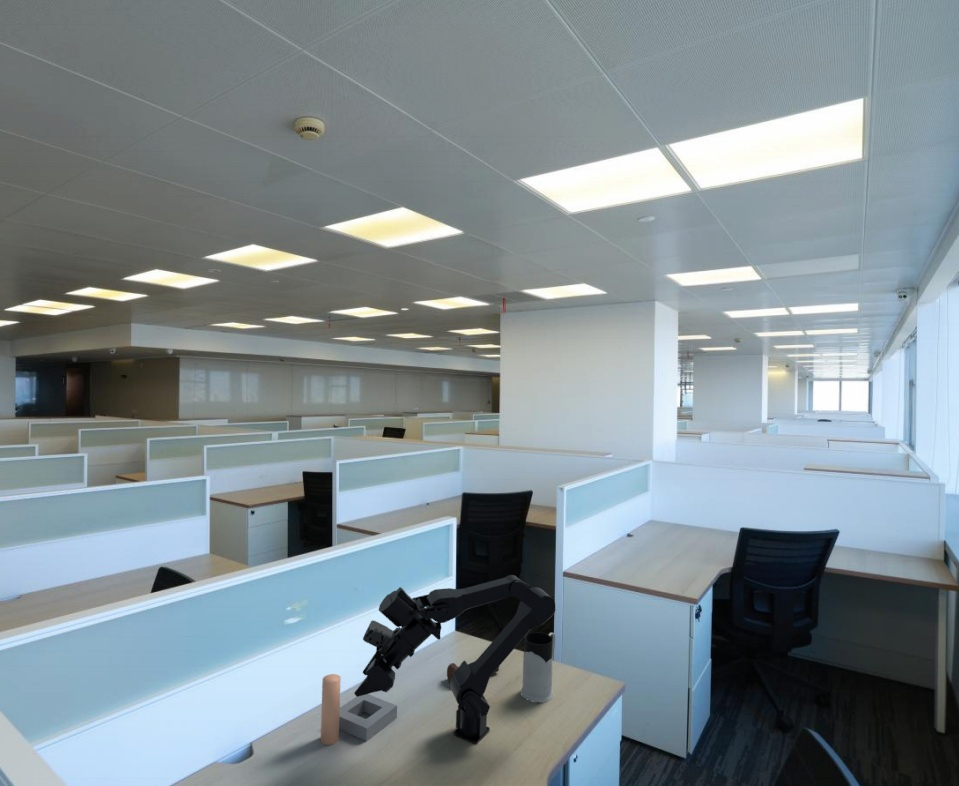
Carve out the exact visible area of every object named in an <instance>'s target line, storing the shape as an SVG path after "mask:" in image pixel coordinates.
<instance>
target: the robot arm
mask: <svg viewBox="0 0 959 786" xmlns="http://www.w3.org/2000/svg"><path fill="white" fill-rule="evenodd" d="M512 597H514V598H516V599H517V600H519V601H520V602H519V604H518V607H517V610H516V613H515V615H514V616H513V617H512V619H511V620H510V621H509V622H508V623H507V624H506V625H505V627H504V628H503V629H502V630H501V631H500V633H499V634H498V635H497V636H496V637H495V638H494V640H493V641H491V643H490V644H489V645H488V646H487V647H486V648H485V649H484V651H483V652H482V653H481V654H480V655H479V656H478V658H477V659H475V661H472V662H470V663H468V662H467V661H466V660H463V661H462V662H461V664H460V665H459V666H458V667H459V668H458V669H457V670H456V671H454V672H453V677H452V678H451V681H450V683H449V684H450V685H449V686H450V689H451V690H450V691H451V693H452V695H453V697H454V699H455V701H456V703H457V704H458V705H457V710H455V712H456V713H455V719H456V720H455V727H456V729H455V730H454V731H453V736H456V737H457V738H460V739H463V740H465V741H468V742H470V743H474V744H478V743H479V742H480V741H481V740H482V739H483V738H485V737H484V736H486V735H487V734H488V732H490V727H489V726H487V718H488V717H487V716H488V713H489V710H490V707H491V706H490V704H489V703H488V701H487V699H486V697H485V695H484V694H485V692H486V690H487V687H488V683H489V680H490V678H491V676H492V675H493V674H494V673H496V672H495V670H496V669H497V668H498V667H499V668H500V666H501V665H502V663H503V662H504V661H505V660H506V659H507V658H508V657H509V655H510V654H511V653H512V652H513V651H514V650H515V648H516V647H517V646H518V645H519V644H520V643H521V642H522V640H523V639H525V636H526V635H527V634H529V632H530V631H532V630H534V629H536V628H538V627H540V626H543V625H544V624H545V623H546V622H547V621H549V619H551V618H552V617H553V615H554V614H555V613H556V602H555V600H554V599H553V598H552V597H551V596H550V595H549V594H548V593H547V592H545V591H544V590H543V589H542V588H540V587H532V586H530V585H529V584H527V583H526V582H524V581H523V580H521V579H520V578H519V577H517V576H516V575H514V574H509V575H507V576H505V577H502V578H498V579H493V580H491V581H487V582H483V583H479V584H475V585H473V586H469V587H465V588H459V589H458V588H450V587H449V588H437V589H433V590H432V591H429V593H427V594H424V595H420V596H416V597H411V595H409V594H408V593H407V592H406V591H405V590H404V588H402V587H401V586H400V587H398V588H397V589H396V590H393V591H391V592H390V593H388V594H386V596H385V597H384V598H383V600H382V601H381V602H380V604H379V607H378V611H379V612H380V613H381V614H382V615H383V616H384V617H385V618H386V619H388V621H390V622H391V623H392V624H393V625H394V626H395V628H394V629H393V630H392V629H391V628H389V627H388V626H387V625H384V624H382V623H380V622H378V621H377V620H373V619H372V620H371V621H370V623H369V625H368V626H367V629H366V631H365V632H364V635H363V637H362V641H363V642H365V643H367V644H369V645H371V646H373V647H376V648H375V649H376V650H375V653H374V655H372V657H371V659H370V660H369V661H368V663H367V665H366V666H365V668H364V669H363V670H362V674H363V676H365V678H364V679H363V681H362V682H361V683H360V685H358V687H357V689H356V690H355V691H354V695H355V697H359V696H362V695H366V694H369V695H370V694H372V693H377V692H384V693H388V692H389V691H390V690H391V689H392V688H393V687H394V684H395V680H396V672H395V670H393V669H392V668H393V667H394V668H395V669H396V670H399V669H400V668H401V667H402V663H403V662H404V661H405V660H406V659H407V658H408V657H410V658H411V657H412V656H414V654H415V651H416V650H417V649H418V648H419V647H420V646H421V645H422V644H423V643H424V642H425V641H426V640H427V639H429V638H430V636H432V635H433V637H435V639H437V640H440V639H441V632H442V624H443V623H447V622H449V621H451V620H454V619H456V618H458V617H459V616H460V615H461V614H463V613H464V612H465V611H467V610H469V609H473V608H476V607H480V606H483V605H486V604H490V603H494V602H497V601H501V600H504V599H509V598H512Z"/></svg>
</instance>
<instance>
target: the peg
mask: <svg viewBox="0 0 959 786" xmlns="http://www.w3.org/2000/svg"><path fill="white" fill-rule="evenodd" d="M341 679H342V678H341V676H340V675H339V674H337V673H336V674H335V673H334V674H333V673H331V674H327V675H325V676H323V677H322V683H321V684H322V686H321V689H322V690H321V715H320V716H321V717H320V719H321V721H320V743H321V744H322V745H326V746H330V745H331V744H332V745H334V744H336V743H337V742H338V741H339V738H340V729H339V713H340V707H341ZM332 745H331V746H332Z"/></svg>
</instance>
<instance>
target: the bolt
mask: <svg viewBox="0 0 959 786" xmlns="http://www.w3.org/2000/svg"><path fill="white" fill-rule="evenodd" d="M458 668H459V666H458V665H457V664H456V663H454V662H453V663H449V664H448V666H447V669H446V676H447V677H446V678H447V681H448V683H449V684H450V681H451V678H452V677H453V672H454V671H456V670H457V669H458ZM499 670H500V666H499V667H498V668H497V669H496V670H495V672H494V673H497V672H499Z"/></svg>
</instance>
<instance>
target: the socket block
mask: <svg viewBox="0 0 959 786" xmlns="http://www.w3.org/2000/svg"><path fill="white" fill-rule="evenodd" d="M362 712H363V713H365V712H366V714H368V715H370V716H369V717H367V718H366V719H365V718H364V717H362V716H360V715H361V714H363V713H362ZM359 714H360V715H359ZM396 719H398V705H396V704H394V703H391V702H390V701H387V700H384V699H381V698H379V697H376V696H374V695H371V694H370V693H369V694H366V695H362V696H359V697H357V696H355V697H354V698H352V699H351V700H349V701H347V703H345V704H344V705H342V706H340V713H339V730H340V729H341V731H342V730H343V731H342V732H344V733H347V734H350V735H351V736H354V737H356V738H358V739H360V740H363V741H365V742H368V741H369V740H370V739H371V738H373V737H374V736H375V735H377V734H378V733H379V732H380V731H382V730H383V729H384V728H386V727H387V726H388V725H390V724H391V723H392V722H394V721H395V720H396Z"/></svg>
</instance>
